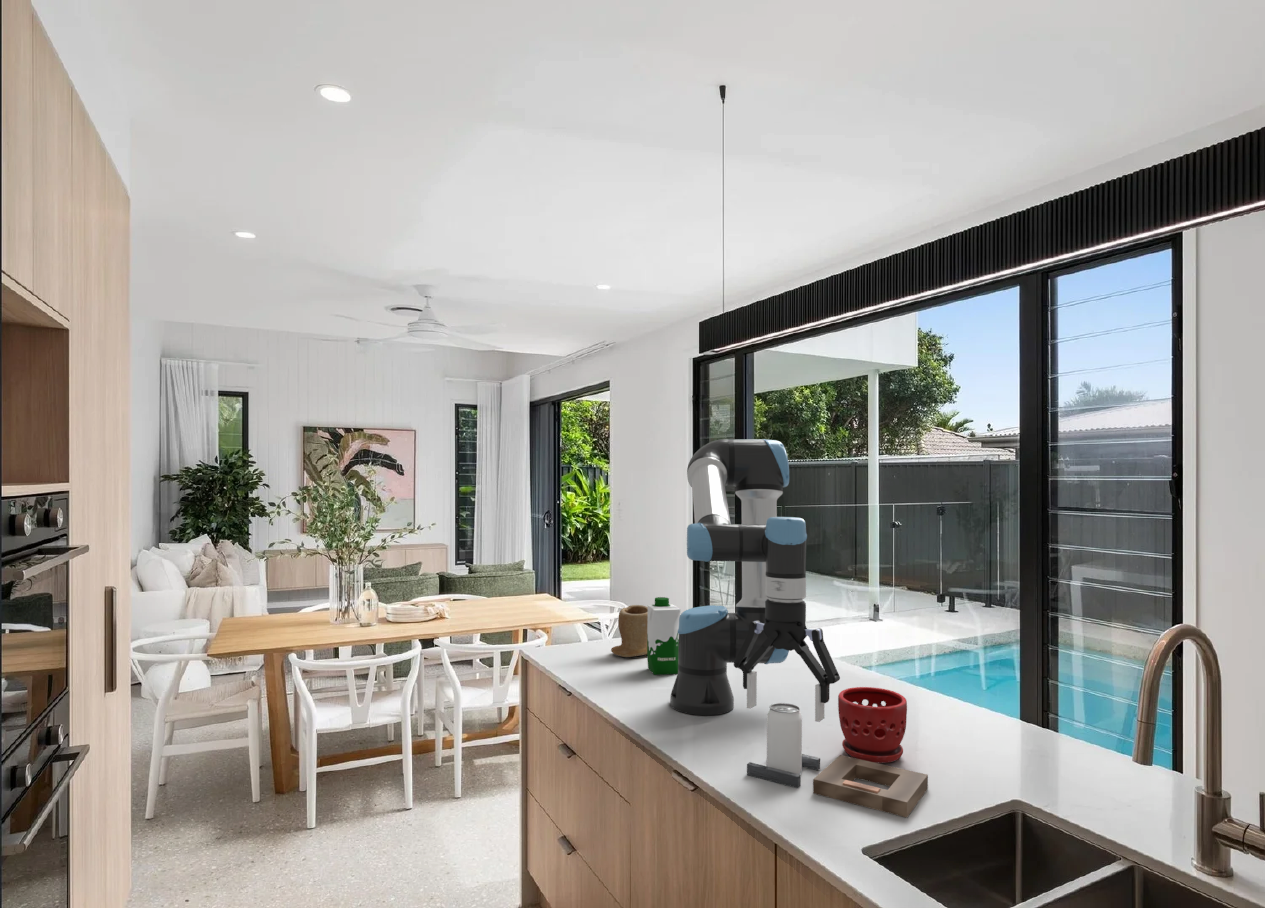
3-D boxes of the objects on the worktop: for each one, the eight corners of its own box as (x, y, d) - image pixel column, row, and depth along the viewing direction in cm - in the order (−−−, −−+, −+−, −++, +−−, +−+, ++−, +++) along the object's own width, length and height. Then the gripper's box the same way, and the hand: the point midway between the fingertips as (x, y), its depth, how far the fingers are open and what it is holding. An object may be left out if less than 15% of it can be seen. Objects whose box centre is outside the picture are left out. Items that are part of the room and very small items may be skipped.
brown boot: (625, 662, 223) (626, 611, 223) (606, 653, 233) (607, 604, 234) (669, 656, 231) (669, 607, 231) (648, 648, 241) (649, 600, 241)
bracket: (746, 774, 142) (746, 763, 142) (771, 756, 151) (771, 746, 151) (798, 788, 136) (798, 776, 136) (820, 768, 145) (820, 757, 145)
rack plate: (813, 793, 134) (813, 777, 134) (840, 767, 146) (840, 753, 146) (906, 817, 125) (907, 800, 125) (927, 788, 137) (927, 772, 137)
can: (801, 780, 140) (802, 714, 140) (766, 776, 141) (766, 711, 141) (801, 766, 146) (801, 703, 146) (766, 763, 147) (767, 701, 148)
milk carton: (673, 666, 219) (674, 596, 220) (683, 674, 211) (683, 601, 211) (644, 667, 217) (644, 597, 218) (652, 676, 209) (653, 602, 209)
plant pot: (831, 743, 159) (831, 685, 159) (894, 744, 159) (895, 686, 159) (846, 767, 146) (847, 704, 146) (916, 769, 146) (916, 706, 146)
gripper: (717, 595, 148) (716, 705, 147) (843, 608, 134) (843, 731, 133) (734, 590, 154) (733, 697, 154) (857, 603, 140) (857, 720, 140)
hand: (784, 713), depth 143 cm, fingers open, 13 cm apart
